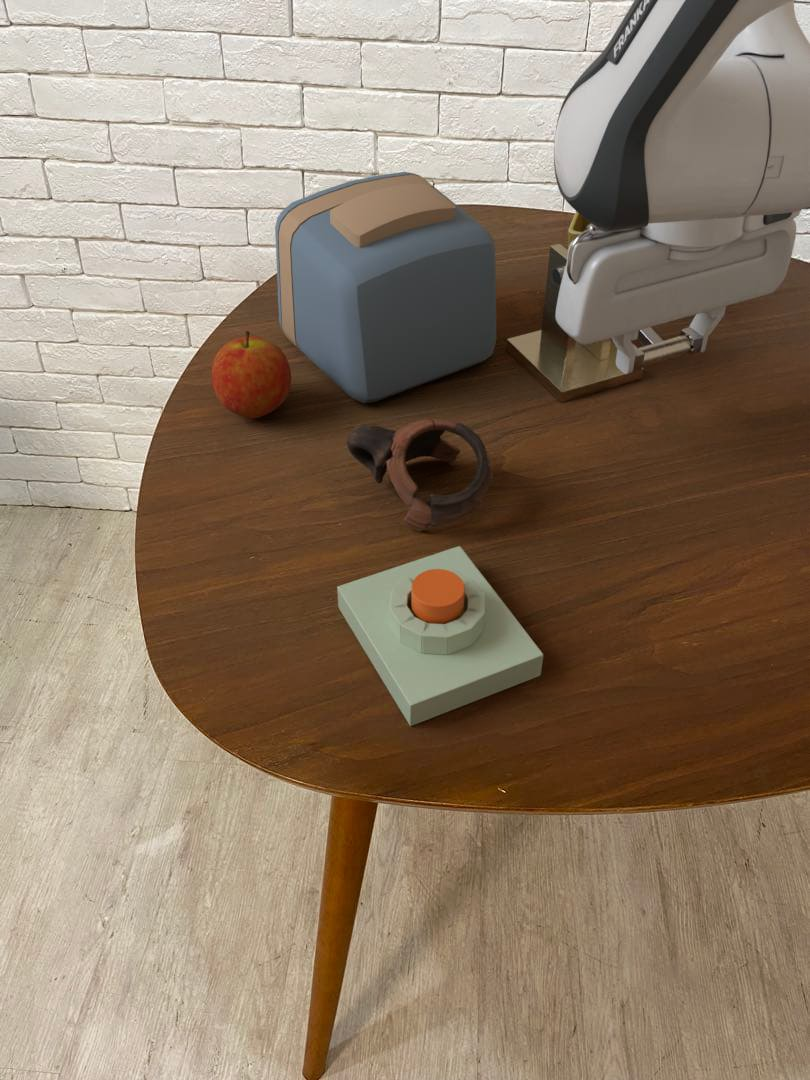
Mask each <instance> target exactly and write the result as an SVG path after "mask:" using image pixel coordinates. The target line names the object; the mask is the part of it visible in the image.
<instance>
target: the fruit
mask: <svg viewBox="0 0 810 1080" xmlns="http://www.w3.org/2000/svg"><path fill="white" fill-rule="evenodd" d="M211 384H212V385H211V386H212V388H213V391H214V393H215V396H216V398H217V399H218V401H219V402H220V404H221V405H222V406H223V407H224V408H225V409H227V410H228V411H230V412H232V413H234V414H236V415H238V416H239V415H240V416H242V417H246V418H249V419H258V418H262V417H264V416H266V415H268V414H270V413H272V412H274V411H275V410H277V409H278V408H279V407H280V406H281V405H283V403H284V402H285V401H286V399H287V398H288V395H289V393H290V391H291V386H292V371H291V366H290V363H289V361H288V358H287V356H286V354H285V353H284V351H283V350H282V349H281V348H280V347H279V346H278V345H277V344H276V343H274V342H272V341H271V340H269V339H268V338H267V339H266V338H265V337H261V336H258V335H250V331H248V330H245V336H243V337H238V338H235V339H232V340H230V341H228V342H226V343H225V344H223V346H222V347H221V348H220V349H219V350H218V352H217V353H216V355H215V357H214V360H213V363H212V368H211Z"/></svg>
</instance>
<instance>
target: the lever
mask: <svg viewBox="0 0 810 1080" xmlns="http://www.w3.org/2000/svg"><path fill="white" fill-rule="evenodd" d="M636 340H638V341H639V343H640V344H641V345H643V346H639V347H637V349H639V350H641V351H642V352H643V353H645V356H644V361H643V362H642V365H643V367H645V366H648V365H652V364H656V363H658V362H662V361H666V360H670V359H673V358H676V357H680V356H683V355H687V353H688V352H689V351H690V349H691V343H690V340H689V339H688V337H687V336H685V335H682V336H680V335H679V336H675V337H671V338H668V339H664V340H663V339H662V338H661V337H660V336H659V335H658V333H657V332H656V331H655V330H654V329H653V328H652V327H649V328H645V329H641V330H639V333H638V338H637V339H636Z"/></svg>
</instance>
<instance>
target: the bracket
mask: <svg viewBox="0 0 810 1080" xmlns="http://www.w3.org/2000/svg"><path fill="white" fill-rule="evenodd" d="M567 256H568V249H567V248H566V247H564V245H562V243H557V244H552V245H550V246H549V255H548V264H547V272H546V273H547V275H546V283H545V293H544V302H543V311H542V312H543V313H542V322H541V329H540V330H536V331H533V332H528V333H526V334H520V335H517V336H513V337H509V338H507V339H506V343H505V350H506V351H507V352H508V353H509V354H510V355H511V356H512V357H513V358H514V359H515V360H516V361H517V362H518V363H519V364H520V365H521V366H522V367H523V368H524V369H525V370H526V371H527V372H528V373H529V374H530V375H532V376H533V378H534V379H536V380H537V382H539V383H540V384H541V385H542V387H544V388H545V389H546V390H547V391H548V392H549V393H550V394H551V395H552V396H553V398H555V399H556V400H557V401H558V402H559V403H564V402H568V401H571V400H575V399H578V398H581V397H584V396H588V395H592V394H595V393H598V392H602V391H606V390H608V389H613V388H614V387H615V388H617V387H619V386H622V385H626V384H630V383H632V382H633V383H634V382H637V381H640V380H642V378H643V374H644V366H643V367H642V369H641V370H639V371H636V372H633V373H629V374H624V373H623V372H622V371H620V370H619V369H618V368H617V366H616V356H617V349H618V348H616V346H615V344H614V342H613V340H612V338H609V339H605V340H602V341H598V342H594V343H591V344H587V345H582V344H580V343H578V342H577V341H576V340H574V339H573V338H572V337H570V336H569V335H568V334H567V333H566V332H565V331H564V330H563V329H562V328H561V327H560V326H559V324H558V323H557V321H556V318H555V313H556V306H557V300H558V295H559V290H560V286H561V282H562V277H563V274H564V270H565V267H566V263H567Z"/></svg>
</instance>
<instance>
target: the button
mask: <svg viewBox="0 0 810 1080" xmlns="http://www.w3.org/2000/svg"><path fill="white" fill-rule="evenodd" d="M464 595H465V586H464V583H463V581H462V579H461V578H460V577H459V576H458V575H456V574H455V573H453V572H451V571H448V570H443V569H432V570H427V571H425V572H422V573H421V574H419V575H418V576H417V577H416V578H415V579H414V581H413V583H412V590H411V606H412V610H413V612H414V614H415V615H416V616H417V617H418V618H420V619H421V620H423V621H425V622H428V623H432V624H445V623H449V622H451V621H453V620H455V619H457V618H458V617H459V616H460V615H461V613H462V611H463V609H464Z"/></svg>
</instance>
